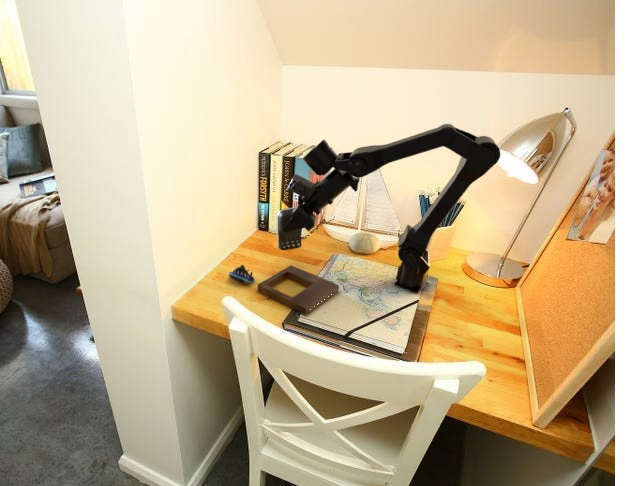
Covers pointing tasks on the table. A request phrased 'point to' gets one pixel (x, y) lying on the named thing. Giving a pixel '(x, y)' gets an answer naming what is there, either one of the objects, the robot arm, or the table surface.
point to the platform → (306, 298)
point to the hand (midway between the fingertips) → (285, 226)
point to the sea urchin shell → (364, 243)
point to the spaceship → (241, 275)
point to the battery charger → (287, 238)
